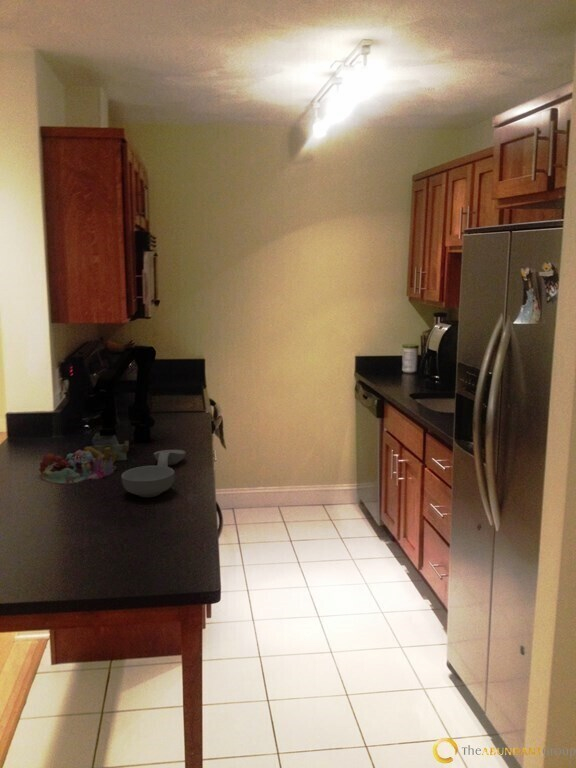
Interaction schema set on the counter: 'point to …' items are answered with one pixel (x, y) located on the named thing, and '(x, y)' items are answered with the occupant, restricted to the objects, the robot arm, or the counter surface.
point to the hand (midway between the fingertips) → (111, 447)
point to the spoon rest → (169, 457)
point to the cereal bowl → (148, 480)
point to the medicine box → (104, 440)
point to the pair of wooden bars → (115, 450)
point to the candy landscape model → (78, 466)
